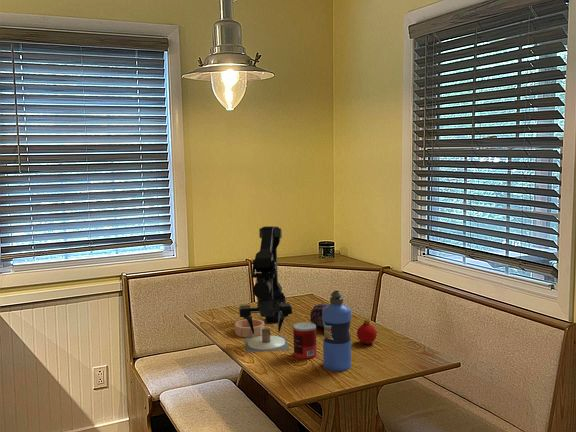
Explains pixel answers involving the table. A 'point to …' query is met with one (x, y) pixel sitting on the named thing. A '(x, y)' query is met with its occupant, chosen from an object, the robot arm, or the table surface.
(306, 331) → the canned food
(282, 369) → the table surface
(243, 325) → the bowl
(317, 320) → the pine cone
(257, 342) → the lid
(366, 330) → the christmas ornament
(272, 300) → the robot arm
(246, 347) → the mat
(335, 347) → the water bottle
